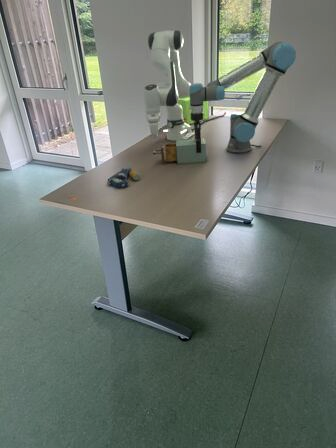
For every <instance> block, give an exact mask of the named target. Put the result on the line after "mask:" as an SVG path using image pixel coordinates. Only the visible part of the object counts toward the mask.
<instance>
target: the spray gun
mask: <svg viewBox="0 0 336 448" xmlns="http://www.w3.org/2000/svg"><path fill="white" fill-rule="evenodd" d="M129 177H130V178H131V179H132V180H134V181H139V180H140V178H141V175H140V173H139V172H137V171H136V170H132V167H127V168H126V167H122V168H121V169H120V170H118V171H116V173H114V174H113V175H112V176H110V177H109V178H107V181H106V184H107V185H109V186H114V187H115V188H117V189H118V188H119V189H120V188H124V187H126V186H128V185H129V180H128V178H129Z"/></svg>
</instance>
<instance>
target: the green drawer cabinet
mask: <svg viewBox="0 0 336 448" xmlns="http://www.w3.org/2000/svg"><path fill="white" fill-rule="evenodd" d="M195 141H196V139H195V138H192V139H190V138H189V139H186V140H176V141H175V143H176V149H177V161H176V163H177V165H179V164H191V163H192V164H193V163H194V164H195V163H207V147H206V146H207V145H206V140H205V138H201V153H197V152H196V143H195Z"/></svg>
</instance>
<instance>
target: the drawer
mask: <svg viewBox="0 0 336 448" xmlns="http://www.w3.org/2000/svg"><path fill="white" fill-rule="evenodd" d="M164 145H165V147H164ZM152 155H153V156H154V155H161V163H162V164H165V162H167V163H168V162H169V163H170V162H177V149H176V142H172V143H171V142H169V143H165V144H164V143H162V142H161V143H160V149H153V150H152Z"/></svg>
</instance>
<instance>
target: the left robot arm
mask: <svg viewBox="0 0 336 448" xmlns="http://www.w3.org/2000/svg"><path fill="white" fill-rule="evenodd" d="M147 45H148V48H149V50H150V62H151V65H152V66H153V67H154V68H155V69H156V70H158V71H160V72H163V74H164V75H165V76H166V77H168V81H162V82H160V83H159V82H158V83H157V84H148V85H146V86H144V89H143V101H144V106H145V118H146V120H147V123H148V126H149V130H150V131H149V132H150V135H151V136H153V138H154V140H158V135H159V127H160V126H159V125H160V124H159V123H160V120H161V119H162V109H161V108H162V107H165V109H166V116H167V119H166V124H167V128H166V129H163V132H166V140H168V141H173V142H174V141H175V142H176V140H189V139H190V138H191V137H193V136H195V128H194V127H193V128H192V126H191V125H188V124H186V123H185V121H184V120H187V118H185V117H184V118H183V111H182V107H181V105H179V104H177V103H178V98H186V97H189V96H190V85H191V84H192V83H190V82H189V81H188V80H187V79H186V78H185V77H184V76H183V73H182V70H181V65H180V55H179V50H181V49H182V48H183V46H184V36H183V33H182V32H181V31H180V30H177V29H175V30H162V31H157V32H151V33H150V34H149V35H148V38H147ZM226 114H227V112H226V111H225V112H224V113H223V114H222V115H218V116H215V117H212V118H208V119H205V120H203V121H201V122H200V123H201V125H203V124H205V123H206V122H209V121H212V120H215V119H218V118H222V117H224V116H225V115H226Z"/></svg>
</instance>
